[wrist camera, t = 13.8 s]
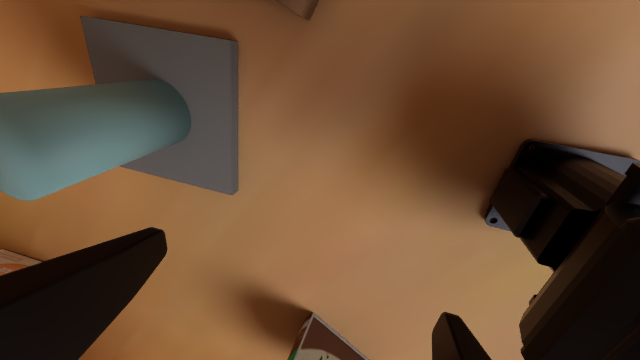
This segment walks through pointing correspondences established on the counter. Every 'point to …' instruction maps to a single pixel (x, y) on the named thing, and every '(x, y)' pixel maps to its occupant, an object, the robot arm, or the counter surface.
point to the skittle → (83, 132)
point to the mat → (191, 82)
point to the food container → (322, 343)
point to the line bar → (300, 7)
